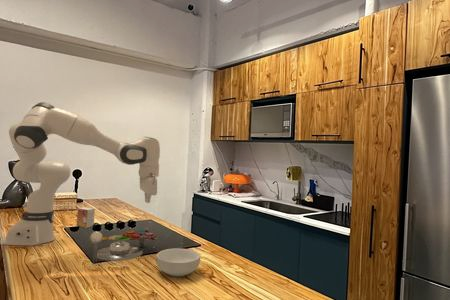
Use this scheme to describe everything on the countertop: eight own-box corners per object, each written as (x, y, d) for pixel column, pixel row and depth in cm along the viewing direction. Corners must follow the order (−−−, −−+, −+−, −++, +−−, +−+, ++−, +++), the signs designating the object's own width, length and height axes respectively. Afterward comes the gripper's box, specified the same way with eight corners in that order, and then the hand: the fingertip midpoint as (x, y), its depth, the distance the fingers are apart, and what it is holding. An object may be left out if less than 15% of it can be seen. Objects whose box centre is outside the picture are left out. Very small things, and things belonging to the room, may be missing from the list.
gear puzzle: (99, 249, 148) (100, 240, 148) (89, 240, 160) (89, 232, 160) (159, 239, 168) (159, 232, 168) (145, 232, 180) (146, 225, 180)
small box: (76, 226, 185) (77, 208, 185) (83, 224, 190) (84, 206, 190) (86, 228, 182) (87, 209, 182) (94, 226, 187) (95, 208, 187)
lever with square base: (87, 268, 122) (89, 233, 122) (89, 263, 127) (91, 229, 127) (100, 268, 123) (101, 233, 123) (101, 263, 128) (103, 229, 128)
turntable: (123, 266, 125) (123, 252, 125) (83, 258, 132) (84, 244, 132) (155, 250, 147) (156, 238, 147) (120, 244, 154) (120, 232, 154)
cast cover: (120, 256, 133) (121, 245, 133) (105, 253, 136) (106, 242, 136) (132, 251, 140) (133, 240, 140) (118, 248, 143) (119, 238, 143)
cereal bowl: (180, 285, 111) (181, 265, 111) (146, 273, 120) (147, 255, 120) (207, 271, 125) (208, 253, 125) (175, 262, 134) (176, 245, 134)
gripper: (161, 174, 137) (159, 206, 137) (150, 170, 156) (149, 198, 156) (147, 174, 135) (145, 206, 135) (137, 170, 153) (136, 198, 153)
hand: (147, 202), depth 145 cm, fingers closed
